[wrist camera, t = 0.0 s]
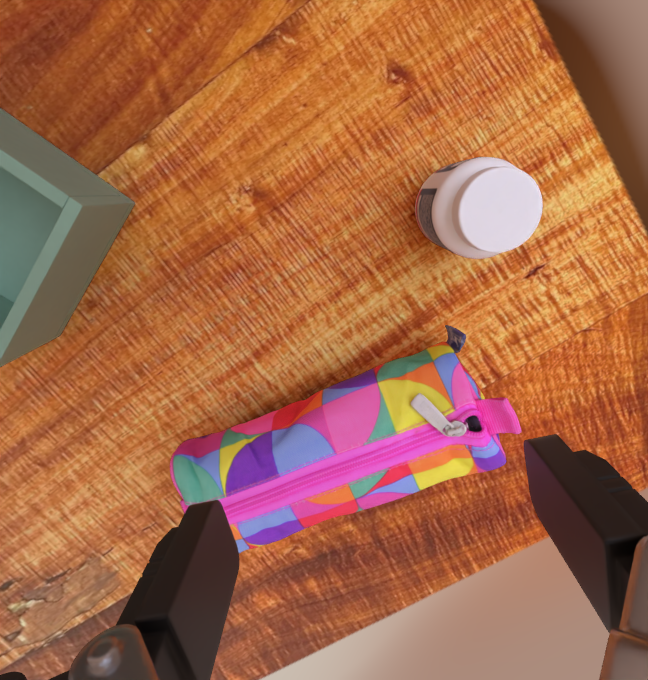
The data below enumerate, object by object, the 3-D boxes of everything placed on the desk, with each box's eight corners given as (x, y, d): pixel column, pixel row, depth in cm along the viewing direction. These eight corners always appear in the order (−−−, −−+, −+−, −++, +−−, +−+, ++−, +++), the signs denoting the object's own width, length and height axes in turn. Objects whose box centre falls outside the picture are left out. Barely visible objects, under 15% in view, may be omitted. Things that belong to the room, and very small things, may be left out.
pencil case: (451, 305, 32) (491, 347, 24) (494, 416, 35) (545, 490, 26) (183, 419, 36) (134, 491, 27) (240, 513, 38) (212, 606, 30)
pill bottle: (456, 262, 31) (499, 289, 23) (397, 214, 31) (420, 222, 22) (512, 198, 30) (580, 202, 22) (452, 145, 29) (499, 127, 21)
